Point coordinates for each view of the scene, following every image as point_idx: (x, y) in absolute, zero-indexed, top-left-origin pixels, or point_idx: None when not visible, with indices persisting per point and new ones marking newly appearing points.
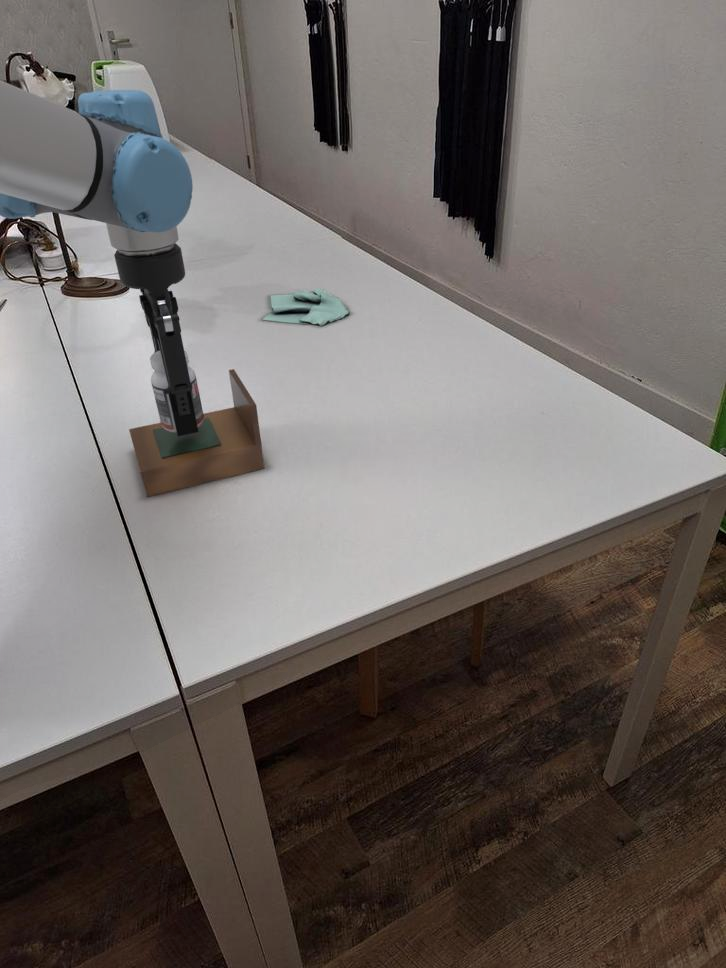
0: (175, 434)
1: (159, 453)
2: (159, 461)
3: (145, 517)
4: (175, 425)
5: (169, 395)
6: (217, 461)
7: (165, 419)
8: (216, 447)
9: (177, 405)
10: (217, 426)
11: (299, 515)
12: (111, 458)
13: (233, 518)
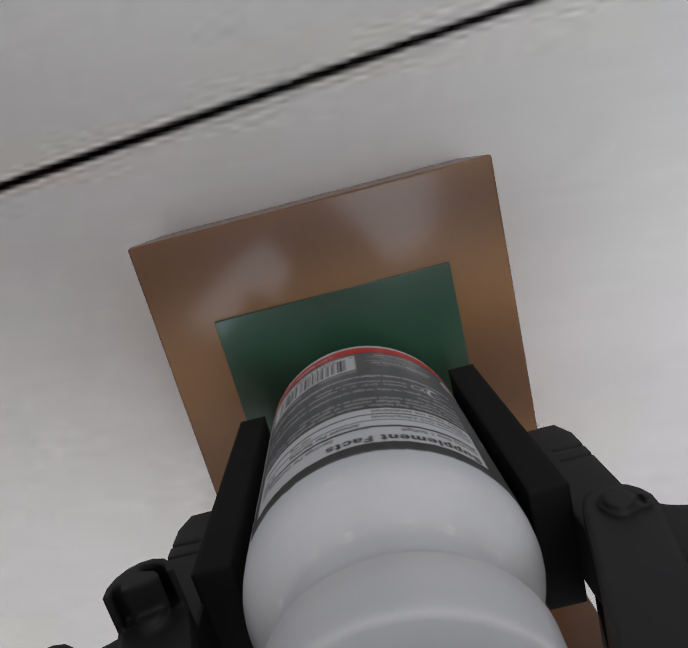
0: None
1: (258, 308)
2: (198, 314)
3: (49, 244)
4: (245, 442)
5: (199, 557)
6: None
7: (286, 403)
8: None
9: (182, 554)
10: None
11: (40, 642)
12: (442, 67)
13: (34, 492)
